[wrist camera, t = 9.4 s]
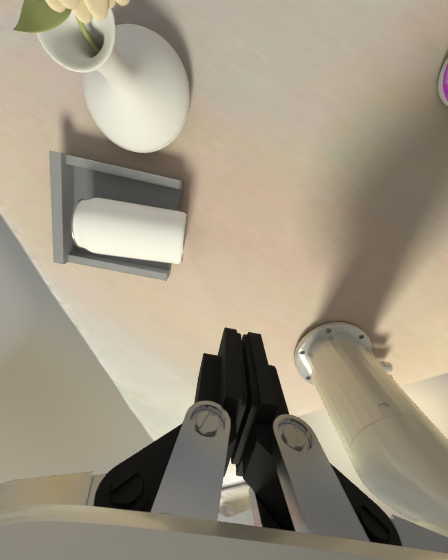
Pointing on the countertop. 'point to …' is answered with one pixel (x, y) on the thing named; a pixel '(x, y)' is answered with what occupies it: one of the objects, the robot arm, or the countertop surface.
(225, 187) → the countertop surface
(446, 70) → the supplement bottle
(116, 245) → the can
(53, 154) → the tray
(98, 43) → the flower in vase
